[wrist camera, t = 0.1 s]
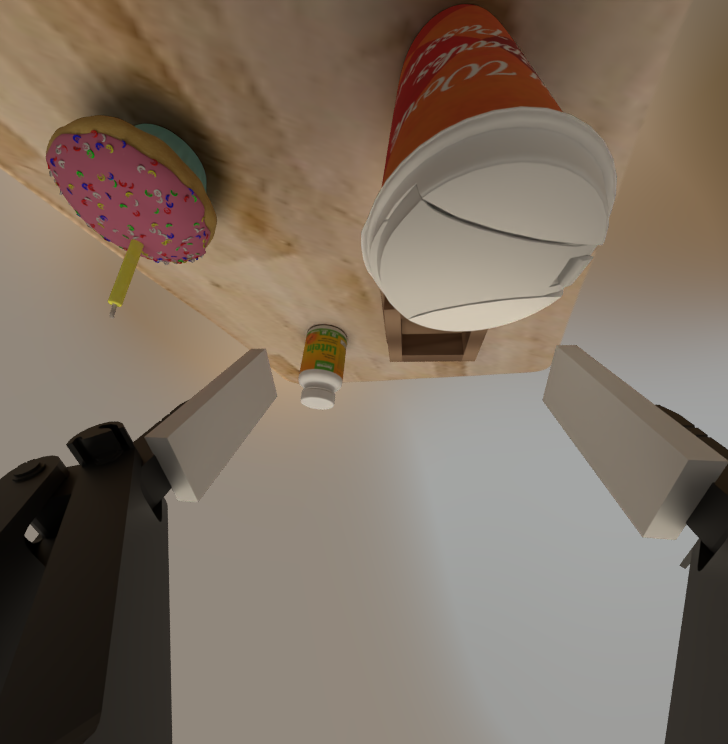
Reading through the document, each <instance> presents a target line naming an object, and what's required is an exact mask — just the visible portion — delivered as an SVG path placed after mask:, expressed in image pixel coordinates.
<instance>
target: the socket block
mask: <svg viewBox="0 0 728 744" xmlns="http://www.w3.org/2000/svg"><path fill="white" fill-rule="evenodd" d="M380 290H381V289H380ZM381 299H382V307H383V315H384V323H385V331H386V339H387V343H388V349H389V357H390V362H425V361H475V359H476V357H477V354H478V352H479V350H480V347H481V345H482V342H483V340H484V337H485V335H486V333H487V330H488V329H483V330H475V331H443V330H437V329H432V328H428V327H424V326H421V325H419V324H416V323H414V322H411V321H410V320H408V319H407V318H405V317H404V316H403V315H402V314H401V313H400V312H399V311H397V310H396V309H395V308H394V306H393V305H392V304H391V303H390V302H389V301H388V299H387V298H386V296H385V294H384V293H383V292H382V291H381Z"/></svg>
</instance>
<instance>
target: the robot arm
mask: <svg viewBox="0 0 728 744" xmlns="http://www.w3.org/2000/svg"><path fill="white" fill-rule="evenodd" d="M276 397H277V393H276V389H275V385H274V381H273V377H272V372H271V368H270V364H269V360H268V356H267V352H266V349H250V350H249V351H248V352H247V353H246V354H244V355H243V356H242V357H241V358H240V359H238V360H237V361H236V362H235V363H234V364H232V365H231V366H230V367H229V368H228V369H226V370H225V371H224V372H223V373H221V374H220V375H219V376H218V377H217V378H215V379H214V380H213V381H212V382H210V383H209V384H208V385H207V386H206V387H204V388H203V389H202V390H201V391H199V392H198V393H197V394H196V395H195V396H193V397H192V398H191V399H190V400H188V401H186V402H184V403H182V404H180V405H179V406H177V407H176V408H175V409H174V410H173V411H171V412H170V414H168V415H167V416H165V417H164V418H163V419H162V421H159V422H158V423H156V424H155V425H154V426H153V427H152V428H151V429H149V430H148V431H147V432H145V433H144V434H143V435H142V436H140V437H139V438H138V439H137V440H136V441H134V442H133V441H132V440H131V438H130V436H129V434H128V432H127V431H126V429H125V427H124V425H123V424H122V423H120V422H107V423H103V424H99V425H96V426H93V427H91V428H88V429H86V430H85V431H82V432H80V433H79V434H77V435H76V436H74V437H73V438H72V439H70V441H69V442H68V443H67V444H66V445H67V447H68V448H69V449H70V451H71V452H72V454H73V455H74V457H75V458H76V460H77V461H78V462H79V464H80V465H76V466H70V467H66V466H65V465H64V464H63V462H62V461H61V460H60V458H59V457H58V456H46V457H41V458H38V459H33V460H30V461H28V462H27V463H23V464H21V465H19V466H18V467H17V468H15V469H14V470H12V471H10V472H9V473H7V474H6V475H5V476H4V477H2V478H1V479H0V744H172V715H171V713H172V712H171V661H170V614H169V613H170V612H169V611H170V609H169V561H168V560H169V559H168V511H167V510H168V508H167V503H166V500H165V499H164V496H165V495H166V494H167V493H168V491H169V490H170V489H171V488H172V490H173V492H174V494H175V496H176V498H177V500H178V501H189V502H199V500H200V499H201V498H202V497H203V495H204V494H205V492H206V491H207V490H208V489H209V487H210V486H211V484H212V483H213V482H214V480H215V479H216V478H217V476H218V475H219V474H220V472H221V471H222V470H223V468H224V467H225V466H226V464H227V463H228V462H229V460H230V459H231V458H232V456H233V455H234V454H235V452H236V451H237V450H238V448H239V447H240V446H241V444H242V443H243V442H244V440H245V439H246V437H247V436H248V435H249V433H250V432H251V431H252V429H253V428H254V427H255V425H256V424H257V423H258V421H259V420H260V418H261V417H262V416H263V415H264V413H265V412H266V410H267V409H268V408H269V407H270V405H271V404H272V403H273V401H274V400H275V399H276ZM543 402H544V403H545V404H546V406H547V407H548V409H549V410H550V411H551V413H552V414H553V415H554V417H555V418H556V420H557V421H558V422H559V424H560V425H561V426H562V428H563V429H564V430H565V432H566V433H567V435H568V436H569V437H570V439H571V440H572V441H573V443H574V444H575V445H576V447H577V448H578V450H579V451H580V452H581V454H582V455H583V456H584V458H585V459H586V461H587V462H588V463H589V465H590V466H591V467H592V469H593V470H594V471H595V473H596V474H597V476H598V477H599V478H600V480H601V481H602V482H603V484H604V485H605V487H606V488H607V489H608V490H609V492H610V493H611V495H612V496H613V497H614V499H615V500H616V502H617V503H618V504H619V506H620V507H621V508H622V510H623V511H624V513H625V514H626V515H627V517H628V518H629V519H630V521H631V522H632V523H633V525H634V526H635V527H636V529H637V530H638V532H639V533H640V534H641V536H642V537H645V538H657V539H671V540H676V539H677V537H678V536H679V535H680V533H681V532H682V530H683V529H684V527H685V526H686V524H687V525H688V526H689V527H690V528H691V530H692V531H693V532H694V533H695V534H696V535H697V536H698V537H699V539H698V541H697V542H696V544H695V545H694V546H693V548H692V549H691V550H690V552H689V553H688V555H687V556H686V557H685V559H684V560H683V561H682V563H681V564H680V566H681V567H683V568H687V566H688V565H689V564H690V570H689V577H688V584H687V591H686V599H685V605H684V612H683V619H682V626H681V633H680V640H679V647H678V654H677V661H676V668H675V675H674V682H673V689H672V696H671V703H670V710H669V717H668V724H667V731H666V738H665V744H728V450H727V449H726V448H725V447H723V446H722V445H721V444H719V443H718V442H716V441H715V440H714V439H712V438H710V437H708V435H707V434H705V433H704V432H703V431H701V430H700V429H699V428H695V427H694V425H693V424H692V423H690V422H689V421H687V420H686V419H685V418H683V417H682V416H681V415H679V414H677V413H675V412H673V411H671V410H669V409H667V408H665V407H662V406H660V405H654V404H653V403H652V402H650V401H649V400H648V399H646V398H645V397H644V396H642V395H641V394H640V393H638V392H637V391H636V390H634V389H633V388H632V387H631V386H629V385H628V384H627V383H625V382H624V381H622V380H621V379H620V378H619V377H617V376H616V375H615V374H613V373H612V372H611V371H610V370H608V369H607V368H606V367H604V366H603V365H602V364H600V363H599V362H598V361H596V360H595V359H594V358H592V357H591V356H590V355H588V354H587V353H586V352H584V351H583V350H582V349H581V348H579V347H578V346H577V345H556V349H555V353H554V357H553V361H552V365H551V369H550V373H549V377H548V380H547V385H546V388H545V393H544V397H543ZM30 524H31V525H32V526H33V528H34V529H35V530H36V531H37V532H38V533H39V535H38V536H37V538H36V539H35V540H34V541H33V542H30V541H28V540H27V538H25V536H24V534H25V532H26V530H27V528H28V526H29V525H30Z"/></svg>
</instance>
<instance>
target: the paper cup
mask: <svg viewBox="0 0 728 744" xmlns="http://www.w3.org/2000/svg"><path fill="white" fill-rule="evenodd" d="M616 181H617V175H616V170H615V165H614V160H613V157H612V155H611V153H610V151H609V149H608V147H607V145H606V143H605V141H604V140H603V139H602V138H601V137H600V135H599V134H598V133H597V132H596V131H595V130H594V129H593V128H592V127H591V126H590V125H588V124H587V123H585V122H583V121H581V120H580V119H578V118H576V117H574V116H573V115H571V114H568V113H564V112H562V110H561V109H560V107H559V106H558V104H557V103H556V102H555V100H554V99H553V97H552V96H551V94H550V93H549V91H548V90H547V88H546V87H545V85H544V84H543V82H542V81H541V79H540V78H539V77H538V75H537V74H536V72H535V71H534V69H533V68H532V66H531V65H530V63H529V62H528V60H527V59H526V58H525V56H524V55H523V53H522V52H521V50H520V49H519V48H518V46H517V45H516V43H515V42H514V40H513V39H512V38H511V36H510V35H509V34H508V32H507V31H506V29H505V28H504V27H503V26H502V25H501V23H500V22H499V21H498V20H497V19H496V18H495V17H494V16H493V15H492V14H491V13H490V12H489V11H487V10H486V9H484V8H482V7H479V6H476V5H471V4H461V5H456V6H452V7H450V8H447V9H445V10H443V11H442V12H440V13H438V14H437V15H436V16H434V17H433V18H432V19H431V20H430V21H429V22H428V23H427V24H426V25H425V26H424V27H423V28H422V29H421V31H420V32H419V33H418V35H417V36H416V38H415V40H414V41H413V43H412V45H411V47H410V49H409V51H408V53H407V56H406V58H405V61H404V64H403V68H402V72H401V76H400V80H399V85H398V91H397V96H396V102H395V108H394V114H393V120H392V126H391V132H390V138H389V144H388V151H387V157H386V164H385V170H384V176H383V183H382V188H381V190H380V192H379V193H378V195H377V197H376V199H375V201H374V204H373V206H372V209H371V211H370V214H369V216H368V218H367V221H366V223H365V225H364V227H363V229H362V232H361V248H362V254H363V260H364V263H365V265H366V268H367V271H368V273H369V274H370V275H371V276H372V277H373V279H374V280H375V282H376V284H377V285H378V287H379V288H380V289H381V291H382V292H383V293H384V294H385V296H386V298H387V299H388V301H389V302H390V303H391V304H392V305H393V306H394V308H395V309H396V310H397V311H399V312H400V313H401V314H402V315H403V316H404V317H405V318H407V319H408V320H410V321H411V322H414V323H416V324H419V325H421V326H424V327H428V328H432V329H437V330H443V331H475V330H483V329H489V328H494V327H498V326H502V325H505V324H509V323H512V322H515V321H517V320H520V319H523V318H525V317H527V316H530V315H532V314H534V313H536V312H538V311H540V310H542V309H543V308H545V307H547V306H549V305H550V304H552V303H553V302H555V301H556V300H558V299H559V298H561V296H562V295H563V289H564V288H565V287H566V286H570V285H572V284H573V282H574V281H575V280H576V279H577V277H578V276H579V275H580V274H581V272H582V271H583V270H584V269H585V268H586V266H587V265H588V264H589V263H590V261H591V260H592V259H593V256H590V255H591V254H592V252H593V251H594V249H595V248H596V247H597V245H603V243H604V241H605V238H606V234H607V230H608V225H609V216H610V214H611V211H612V207H613V203H614V200H615V196H616Z"/></svg>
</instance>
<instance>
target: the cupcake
mask: <svg viewBox="0 0 728 744" xmlns="http://www.w3.org/2000/svg"><path fill="white" fill-rule="evenodd" d="M46 161H47V164H48V169H50V176H51V177H52V176H54V178H55V179H54V182H55V183H56V185H58V186H59V188H60V195H61V194H63V195H64V197H65V198H66V199H67V201H68V203H69V205H71V206H72V207H73V209H74V210H75V211H76V213H77V215H78V216H80V217H81V218H82V219H83V220H84V221H85V222H86V224H87V226H88V227H90V228H92V229H93V230H94V231H96V232H98V233H99V234H100V235H101V236H102V237H103V238H104V239H105V240H106V241H111V242H112V243H114V244H116V245H117V246H119V247H120V248H122V249H124V250H125V251H127V253H126V255H125V258H124V260H123V263H122V265H121V268H120V271H119V273H118V276H117V279H116V281H115V284H114V286H113V289H112V291H111V294H110V297H109V299H108V303H109V304H111V305H112V309H111V312H110V317H111V318H114V314H115V312H116V307H117V306H118V307H121V306H122V304H123V301H124V298H125V295H126V292H127V290H128V287H129V284H130V282H131V279H132V276H133V274H134V271H135V268H136V266H137V263H138V260H139V257H140V256H141V257H145V258H147V259H150V260H154V261H155V262H157V263H159V262H161V261H162V262H163V263H164V264H165V265H168V264H169V262H173V263H174V264H178V263H179V262H180V263H179V264H181V263H182V262H183V263H186V262H187V261H191V262H192V261H193V262H194V261H195V258H196V260H198V257H201V258H202V257H203V255H204V254H205V253H206V251H205V248H206V247H207V246H208V245H209V243H210V242H211V240H212V239H213V236H214V233H215V228H216V224H217V217H216V214H215V211H214V208H213V206H212V204H211V201H210V199H209V197H208V196H207V194H206V184H207V181H206V174H205V171H204V168H203V166H202V164H201V162H200V160H199V158H198V157H197V155H196V154H195V153H194V151H193V150H192V149H191V148H190V147H189V146H188V145H187V144H186V143H185V142H184V141H183V140H182V139H181V138H179V137H178V136H177V135H175V134H174V133H172V132H171V131H169V130H167V129H165V128H163V127H160V126H157V125H153V124H139V125H135V126H133V125H131V124H129V123H127V122H126V121H124V120H121V119H119V118H115V117H110V116H103V115H96V116H89V117H83V118H79V119H77V120H75V121H73V122H71V123H69V124H67V125H66V126H64V127H60V128H59V129H57V130H56V131H55V133H54V134H53V136H52V137H51V139H50V141H49V144H48V146H47V151H46ZM184 261H185V262H184ZM165 262H166V263H165ZM167 262H168V264H167ZM193 262H192V263H193Z"/></svg>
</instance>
